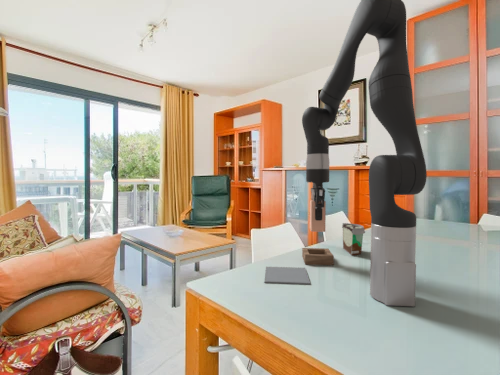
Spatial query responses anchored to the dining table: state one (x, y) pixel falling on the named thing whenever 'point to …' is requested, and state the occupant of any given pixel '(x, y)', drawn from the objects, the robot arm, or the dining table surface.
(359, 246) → the food container
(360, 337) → the dining table surface
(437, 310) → the dining table surface
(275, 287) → the dining table surface
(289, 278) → the rubber mat
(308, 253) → the walnut pocket
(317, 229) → the terracotta block
